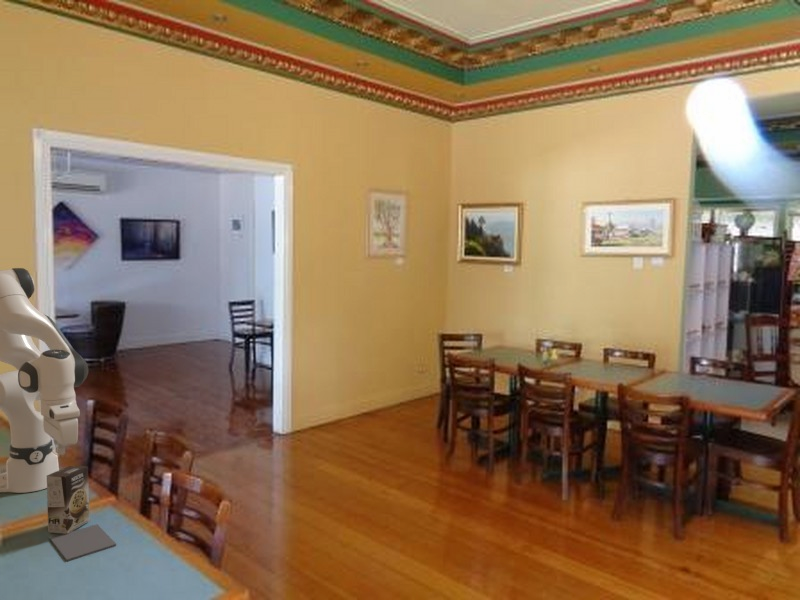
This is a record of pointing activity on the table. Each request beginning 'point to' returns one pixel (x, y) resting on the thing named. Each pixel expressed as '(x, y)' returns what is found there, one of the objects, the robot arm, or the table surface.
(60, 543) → the mat
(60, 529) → the coffee box
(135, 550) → the table surface
